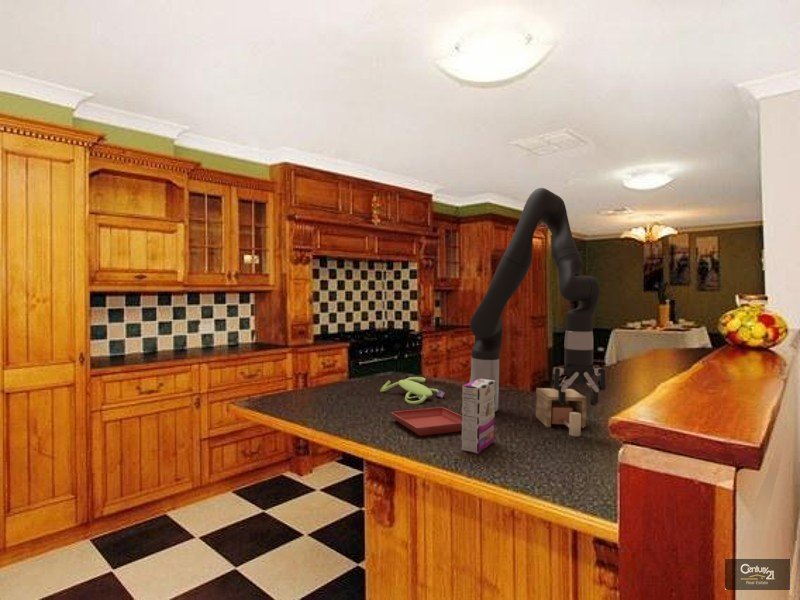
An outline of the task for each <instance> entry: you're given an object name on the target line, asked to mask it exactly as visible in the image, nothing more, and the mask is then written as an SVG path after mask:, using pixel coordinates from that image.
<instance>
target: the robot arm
mask: <svg viewBox="0 0 800 600" xmlns="http://www.w3.org/2000/svg"><path fill="white" fill-rule="evenodd" d="M567 211H568V210H567V208H566V203H565V202H564V199H563V198H561V196H559V195H557V194H556V193H554V192H553V191H550V190H548V189H547V188H544V187H538V188H536V189H535V190H533V191H532V192H531V193H530V194H529V197H528V198H527V199H526V202H525V204H524V207H523V209H522V212H521V214H520V218H519V221H518V222H517V225H516V227H515V231H514V233H513V235H512V237H511V239H510V241H509V244H508V246H507V248H506V249H505V251H504V253H503V255H502V257H501V258H500V261H499V263H498V265H497V267H496V270H495V273H494V274H493V276H492V279H491V280H490V284H489V286H488V288H487V291H486V292H485V294H484V296H483V298H482V300H481V301H480V303H479V305H478V307H477V308H476V310H475V311H474V313H473V315H472V316H471V318H470V322H469V327H470V328H469V329H470V332H471V333H472V335H474V344H473V346H472V348H471V357H470V358H471V361H470V362H471V365H470V378H469V383H470V382H472V381H475V380H477V379H488V380H494V381H495V412H497V411H498V410H499V388H500V387H499V386H500V385H499V384H500V383H499V381H500V356H501V355H500V354H501V349H502V340H503V339H502V338H503V322H502V318H501V315H502V314H503V312H504V309H505V307H506V305H507V303H508V302H509V300H511V298H512V296H513V295H514V294H515V292H517V290H518V289H519V288H520V286H521V284H522V282H524V279H525V277H526V275H527V274H528V272H529V270H530V267H531V266H532V261H533V253H534V251H533V250H534V249H533V244H534V243H533V242H534V235H535V232H536V229H537V227H538V225H539V223H540V222H541V223H544V224H545V225H546V226H547V228H548V229H549V231H550V233H551V235H552V239H551V240H552V241H551V254H552V257H553V260H554V263H555V265H556V268H557V271H558V286H559V287H558V289H559V293H560V295H561V297H562V298H563V299H564V300H565V301H566V300H567V301H571V302H575V301H576V302H579V305H578V306H577V307H576V308H572V309H569V310H567V312H566V315H565V334H564V344H563V346H564V363H563V364H564V365H563V368H561V367H556V366H553V367H552V374H551V389H556V390H558V401H559V402H560V404H561V405H565V400H566V392H564V391H565V390H566V389H569V388H568V387H571V385H572V384H573V385H578V384H582V385H585V384H586V385H587V386H588V387H589V388H590V389H591V390H590V394H589V395H590V401H589V403H590V405H591V406H597V404H598V402H599V392H600V391H605V390H606V387H607V386H606V370H605V369H604V368H603V367H599V366H598V367H596V368H594V333H593V331H594V329H593V328H594V327H593V326H594V324H593V319H594V314H595V311H596V307H597V304H598V300H599V297H600V293H601V286H600V285H601V284H600V283H599V280H598V278H597V277H594V276H593V275H578V273H580V272H581V271H583V268H584V262H583V259H582V257H581V253H580V252H579V250H578V247H577V245H576V242H575V240H574V237H573V235H572V230H571V227H570V222H569V216H568V212H567ZM594 374H595V376H596V379H597V382H596V383H597V384H596V383H595V381H594V380H593V378H592V377H593V375H594ZM562 375H565V376H564V378H562V381H561V383H560V377H561V376H562Z"/></svg>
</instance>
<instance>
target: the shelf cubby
mask: <svg viewBox="0 0 800 600" xmlns="http://www.w3.org/2000/svg"><path fill="white" fill-rule="evenodd" d="M535 389H536V390H535V415H534V416H535V417H536V418H537V419H538V420H539V421H540V422H541V423H542V424H543V425H544V426H545V427H546V428H551V427H552V423H551V406H552V403H560V402H559V401H558V390H556V389H554V388H552V387H551V388H548V387H546V388H545V387H544V388H543V387H540V388H539V387H536V388H535ZM564 392H566V400H565V403H566V404H568V405H569V406H570V407H572V408H573V412H577V413H581V427H582V428H581V429H585V428H584V427H586V424H587V423H586V422H587V400H588V399H587V397H586V396H585V395H583V394H581V393H579V392H578V391H576V390H575V389H573V388H567V389H566V390H565V391H564Z"/></svg>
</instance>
